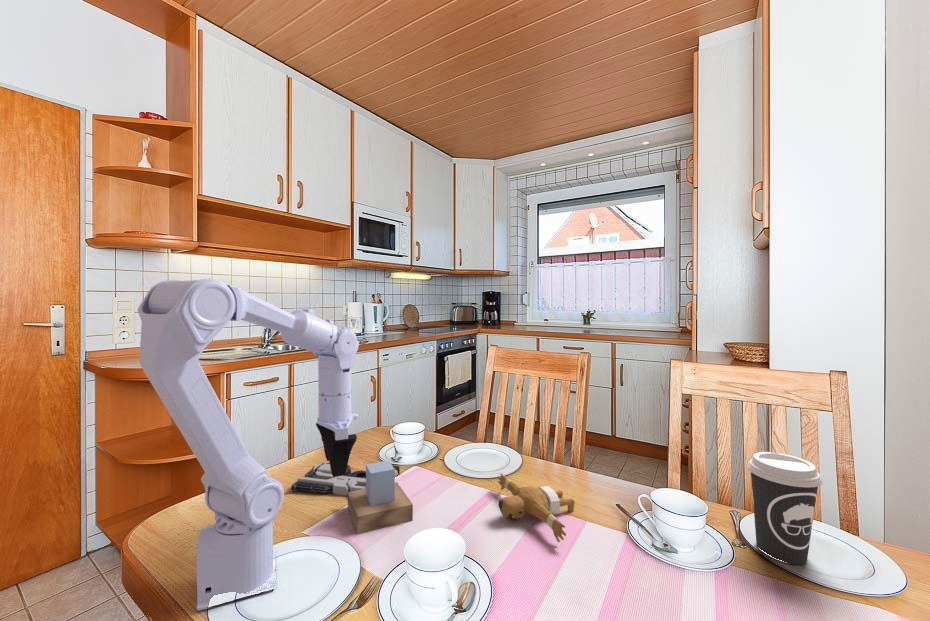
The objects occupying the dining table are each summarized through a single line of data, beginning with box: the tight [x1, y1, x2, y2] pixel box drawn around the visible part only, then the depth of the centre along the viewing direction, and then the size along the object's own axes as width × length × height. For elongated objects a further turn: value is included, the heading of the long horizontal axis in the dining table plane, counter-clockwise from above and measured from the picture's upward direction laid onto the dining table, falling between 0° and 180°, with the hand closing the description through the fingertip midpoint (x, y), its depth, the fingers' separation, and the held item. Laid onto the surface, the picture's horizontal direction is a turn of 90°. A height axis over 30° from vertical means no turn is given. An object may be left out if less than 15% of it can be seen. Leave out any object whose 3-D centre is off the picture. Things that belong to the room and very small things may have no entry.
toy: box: [497, 473, 576, 543], centre depth 76 cm, size 16×16×5 cm
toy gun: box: [290, 461, 401, 497], centre depth 91 cm, size 3×20×15 cm
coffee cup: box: [746, 451, 823, 566], centre depth 66 cm, size 10×10×15 cm
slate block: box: [365, 460, 396, 506], centre depth 77 cm, size 4×4×6 cm
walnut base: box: [347, 481, 414, 535], centre depth 77 cm, size 10×10×3 cm
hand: (335, 467), depth 73 cm, fingers open, 7 cm apart
